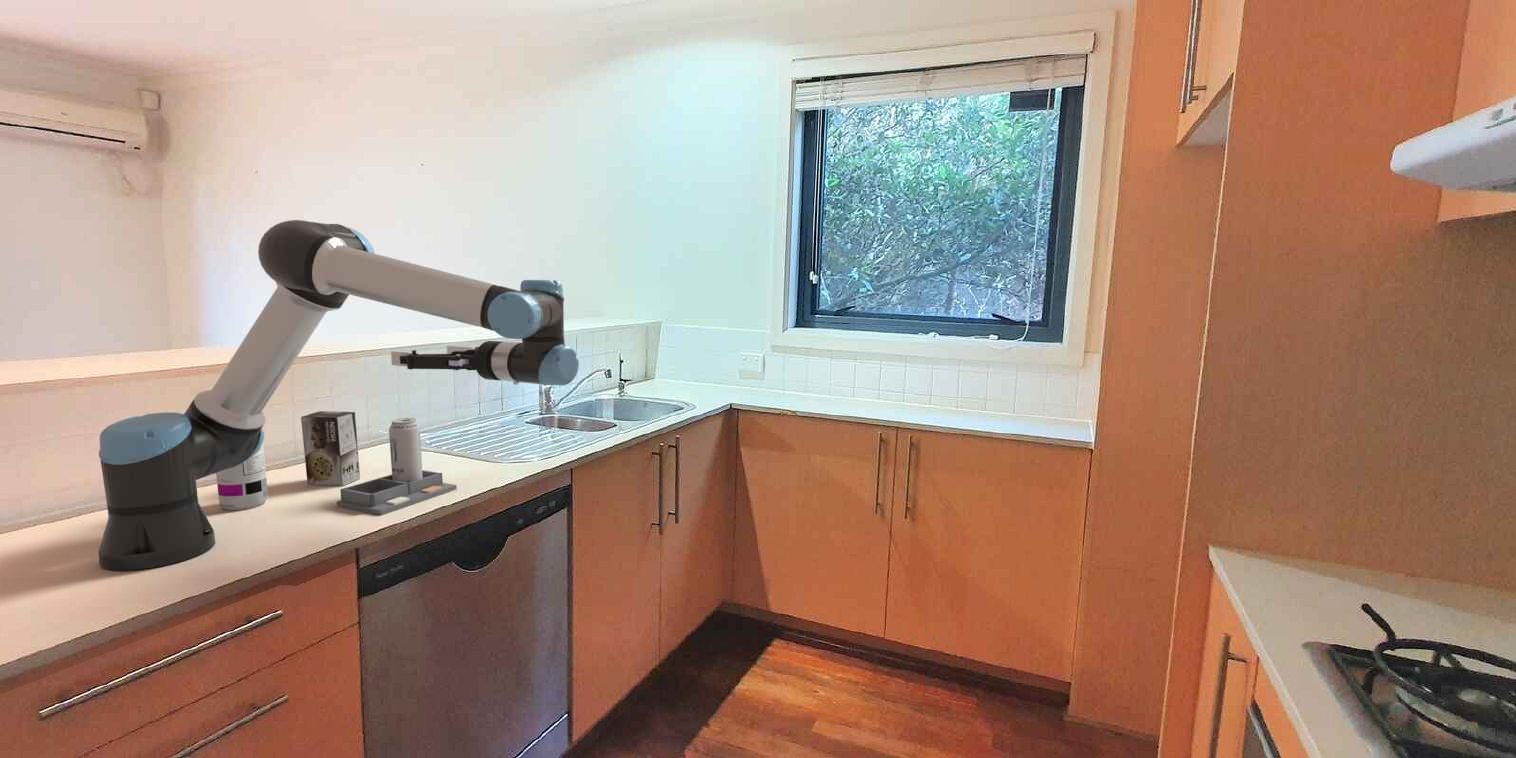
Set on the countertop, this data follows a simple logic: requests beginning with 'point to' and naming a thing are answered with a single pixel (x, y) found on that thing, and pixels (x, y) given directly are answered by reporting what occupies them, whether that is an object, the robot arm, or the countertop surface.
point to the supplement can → (243, 484)
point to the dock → (392, 493)
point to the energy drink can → (405, 450)
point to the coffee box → (330, 448)
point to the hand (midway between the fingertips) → (421, 354)
